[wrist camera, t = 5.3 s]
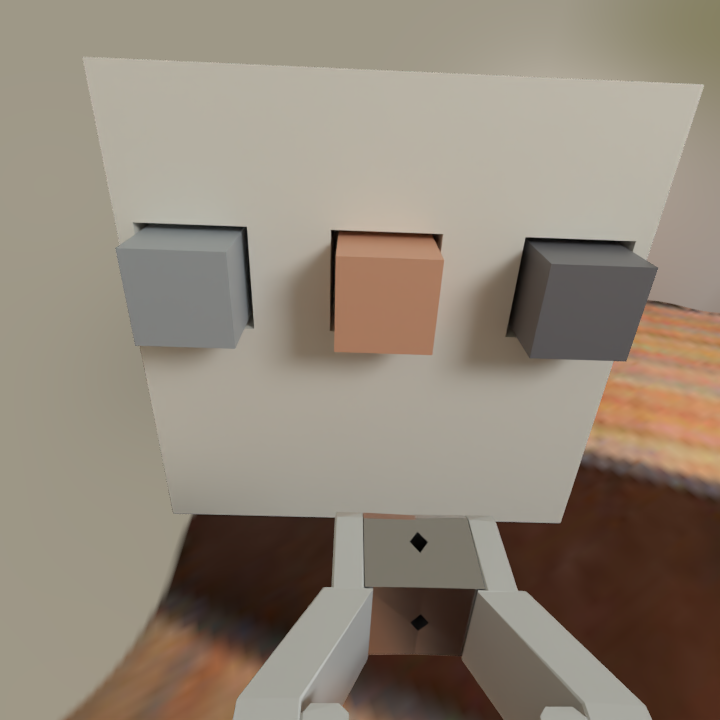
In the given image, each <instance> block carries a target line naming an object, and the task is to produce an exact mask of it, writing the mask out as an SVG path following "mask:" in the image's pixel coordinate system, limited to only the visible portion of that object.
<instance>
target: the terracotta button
mask: <svg viewBox="0 0 720 720" xmlns="http://www.w3.org/2000/svg"><path fill="white" fill-rule="evenodd" d="M443 266H444V259H443V257H442V254H441V252H440V250H439V248H438V246H437V244H436V242H435V240H434V238H433V236H432V234H428V233H402V232H375V231H349V230H339V233H338V241H337V249H336V266H335V332H334V352H349V353H380V354H411V355H432V354H433V346H434V338H435V330H436V322H437V314H438V306H439V298H440V290H441V282H442V274H443Z"/></svg>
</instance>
